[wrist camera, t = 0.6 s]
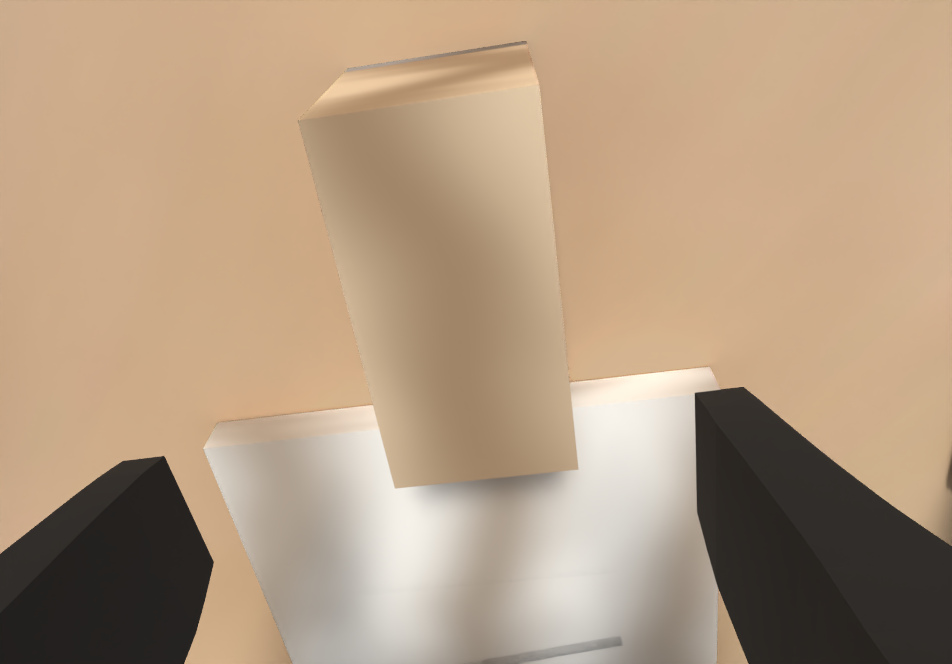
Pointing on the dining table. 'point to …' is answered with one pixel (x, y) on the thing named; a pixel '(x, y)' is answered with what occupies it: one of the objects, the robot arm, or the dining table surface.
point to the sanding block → (449, 261)
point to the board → (482, 539)
